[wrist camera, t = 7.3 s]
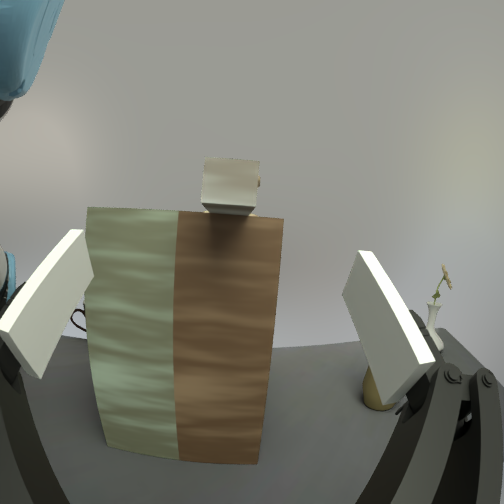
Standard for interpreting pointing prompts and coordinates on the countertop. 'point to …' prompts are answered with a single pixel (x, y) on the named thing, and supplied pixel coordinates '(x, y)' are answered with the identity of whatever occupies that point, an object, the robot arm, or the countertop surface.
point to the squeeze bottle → (373, 393)
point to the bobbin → (230, 186)
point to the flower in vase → (433, 312)
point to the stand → (182, 330)
